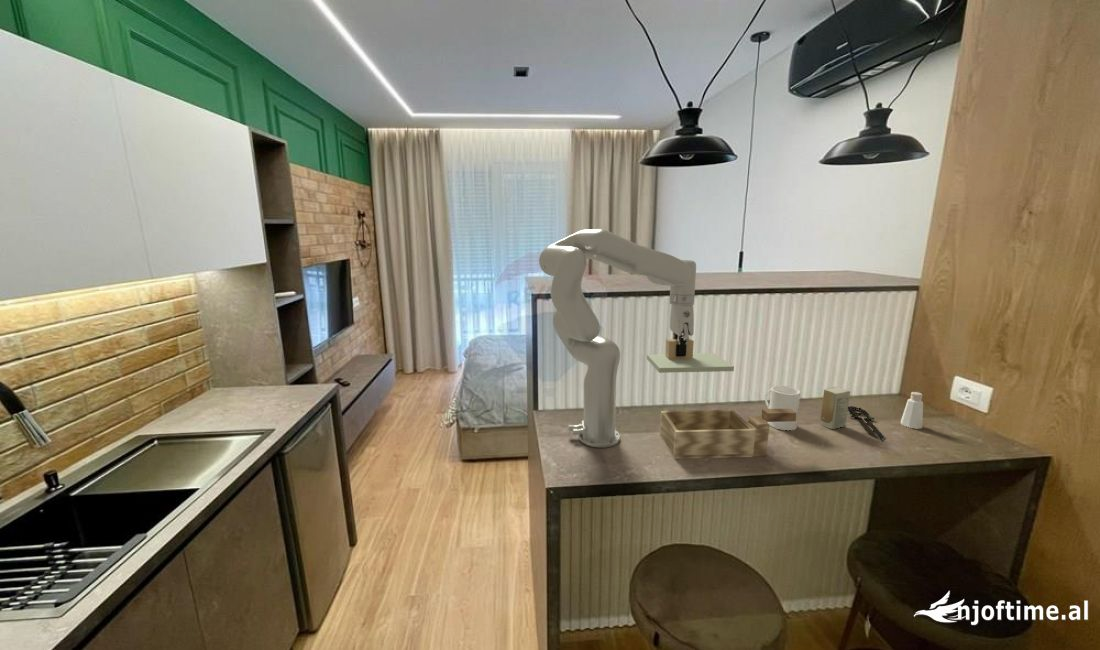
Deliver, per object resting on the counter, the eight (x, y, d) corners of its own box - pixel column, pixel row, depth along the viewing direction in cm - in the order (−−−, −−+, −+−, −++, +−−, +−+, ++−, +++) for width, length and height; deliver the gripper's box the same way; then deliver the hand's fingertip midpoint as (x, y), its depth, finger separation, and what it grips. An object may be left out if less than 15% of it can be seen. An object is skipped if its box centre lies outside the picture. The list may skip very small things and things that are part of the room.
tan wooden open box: (674, 458, 115) (676, 426, 113) (659, 435, 129) (661, 406, 127) (767, 456, 116) (770, 424, 114) (742, 433, 130) (745, 404, 128)
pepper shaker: (897, 424, 134) (903, 392, 132) (902, 420, 138) (908, 388, 135) (919, 430, 130) (926, 397, 128) (924, 426, 133) (930, 393, 131)
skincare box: (833, 421, 137) (838, 386, 135) (846, 427, 133) (851, 390, 131) (818, 424, 135) (823, 388, 133) (831, 430, 131) (836, 393, 129)
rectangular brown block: (767, 421, 115) (767, 413, 115) (761, 417, 118) (762, 409, 118) (795, 421, 116) (796, 412, 115) (789, 416, 118) (790, 408, 118)
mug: (754, 416, 142) (757, 383, 139) (776, 414, 143) (780, 381, 141) (779, 432, 130) (783, 395, 128) (803, 429, 132) (807, 393, 129)
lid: (659, 372, 127) (660, 348, 126) (646, 358, 142) (647, 337, 140) (733, 371, 128) (735, 347, 126) (713, 357, 143) (715, 336, 141)
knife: (887, 443, 123) (888, 439, 123) (861, 439, 126) (861, 435, 126) (866, 411, 146) (867, 407, 145) (844, 408, 148) (845, 404, 148)
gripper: (703, 303, 126) (699, 361, 129) (684, 295, 142) (681, 347, 145) (678, 303, 125) (675, 362, 129) (662, 295, 141) (660, 348, 145)
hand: (678, 354), depth 137 cm, fingers closed on lid, 3 cm apart
